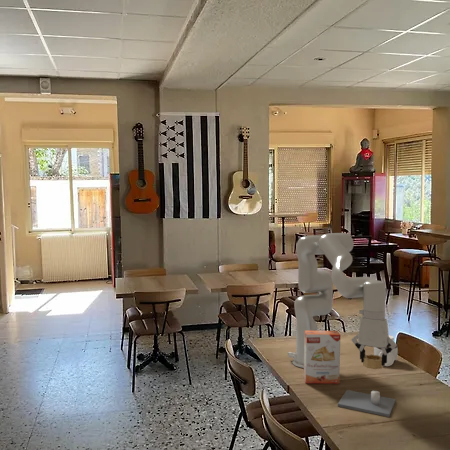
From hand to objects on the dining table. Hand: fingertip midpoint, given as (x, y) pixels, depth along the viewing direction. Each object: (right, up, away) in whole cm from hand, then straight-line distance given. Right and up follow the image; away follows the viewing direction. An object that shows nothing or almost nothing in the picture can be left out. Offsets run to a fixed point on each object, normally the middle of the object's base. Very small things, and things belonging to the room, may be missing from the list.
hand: (373, 362), depth 173 cm
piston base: (-2, -16, +2) cm, 16 cm away
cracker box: (-14, -15, +23) cm, 31 cm away
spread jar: (+20, -14, +46) cm, 52 cm away
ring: (0, -1, 0) cm, 1 cm away
